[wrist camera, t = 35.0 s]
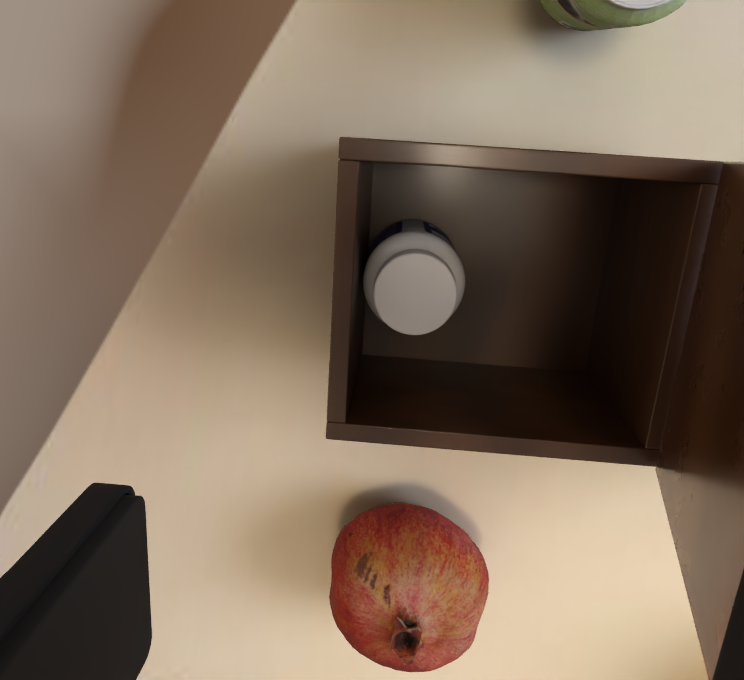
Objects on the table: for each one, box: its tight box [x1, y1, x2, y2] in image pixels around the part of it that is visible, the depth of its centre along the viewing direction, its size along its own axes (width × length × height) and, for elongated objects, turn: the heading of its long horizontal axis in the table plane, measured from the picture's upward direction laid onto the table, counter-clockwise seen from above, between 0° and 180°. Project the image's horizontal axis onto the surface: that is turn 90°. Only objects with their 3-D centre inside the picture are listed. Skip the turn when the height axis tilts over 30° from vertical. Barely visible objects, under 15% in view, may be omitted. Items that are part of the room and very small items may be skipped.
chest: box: [326, 137, 724, 467], centre depth 33 cm, size 16×14×11 cm
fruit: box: [329, 503, 489, 672], centre depth 40 cm, size 11×10×10 cm
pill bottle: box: [363, 219, 465, 335], centre depth 33 cm, size 5×5×9 cm
